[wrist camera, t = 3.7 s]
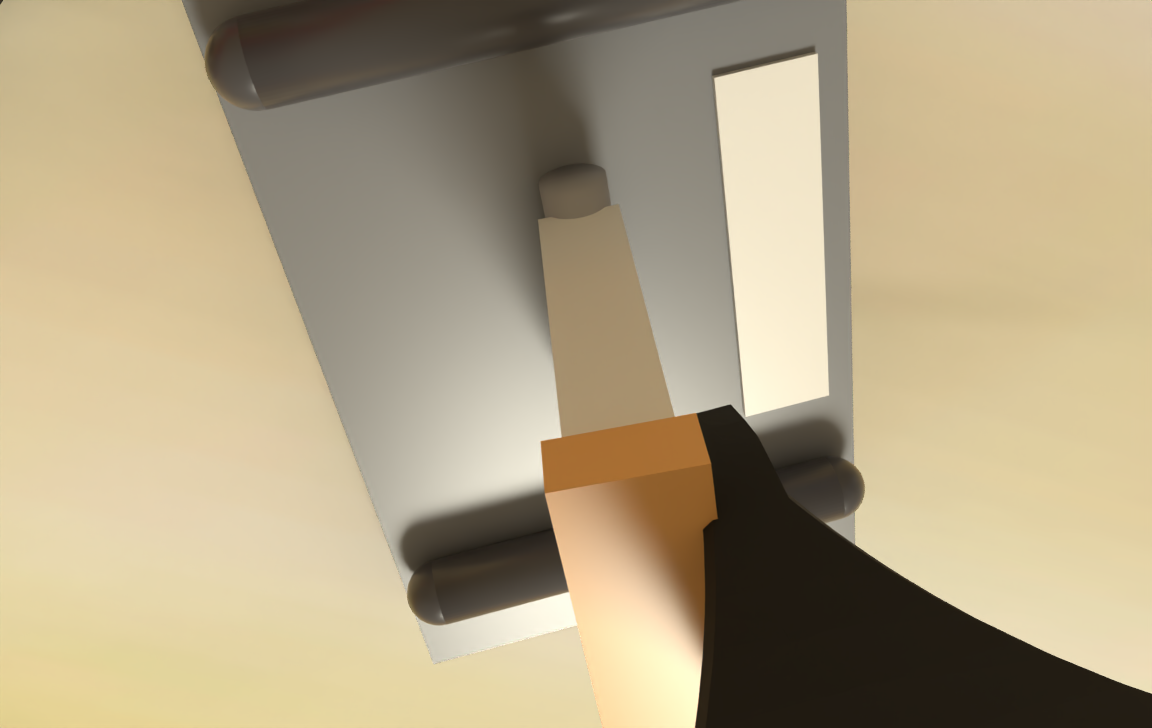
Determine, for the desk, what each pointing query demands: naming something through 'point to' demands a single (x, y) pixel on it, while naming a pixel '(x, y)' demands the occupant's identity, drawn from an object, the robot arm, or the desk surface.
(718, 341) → the strip
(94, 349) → the desk surface
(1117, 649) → the desk surface
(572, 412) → the lever
